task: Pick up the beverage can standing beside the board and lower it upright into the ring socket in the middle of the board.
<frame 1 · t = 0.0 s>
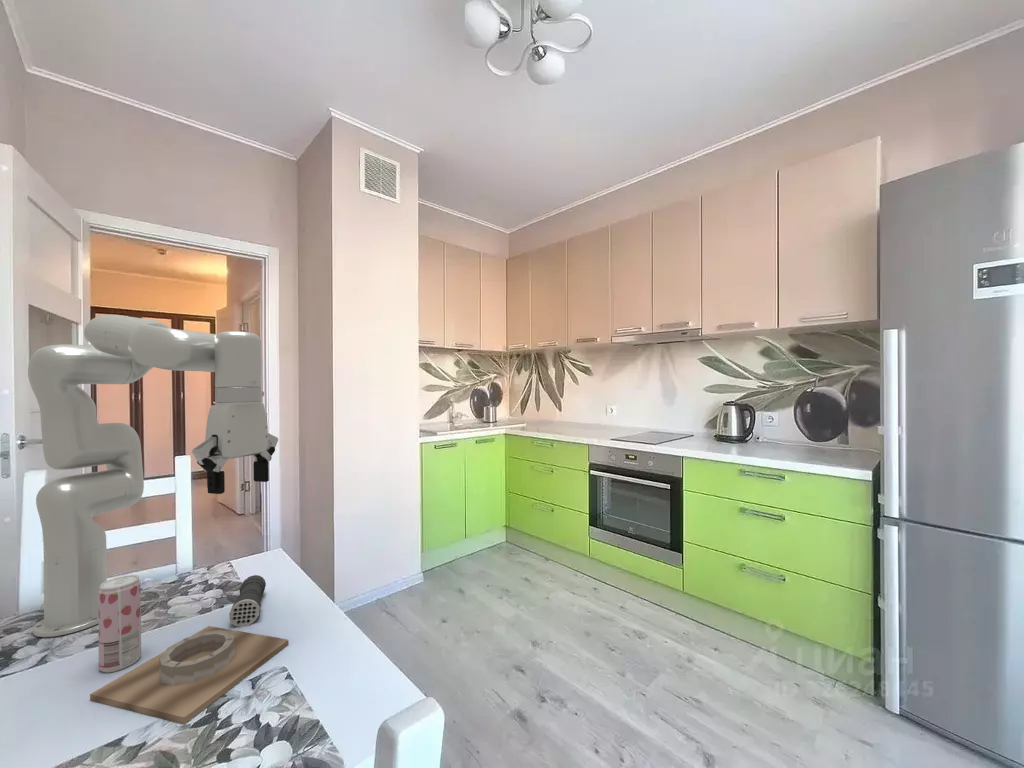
hand: (240, 487, 80), 31 cm above the table, fingers open, 9 cm apart
flashlight: (249, 611, 96), on the table
socket board: (198, 669, 75), on the table
beverage can: (120, 664, 77), on the table
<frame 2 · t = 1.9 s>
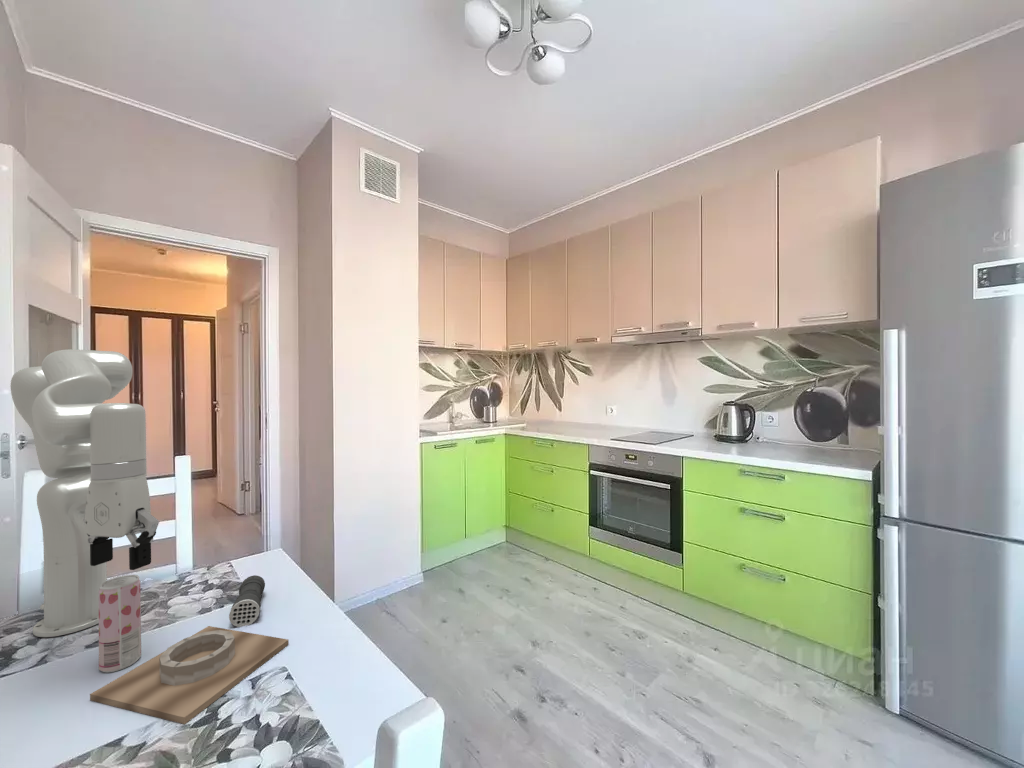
hand: (120, 564, 77), 18 cm above the table, fingers open, 9 cm apart
nothing on the table moved.
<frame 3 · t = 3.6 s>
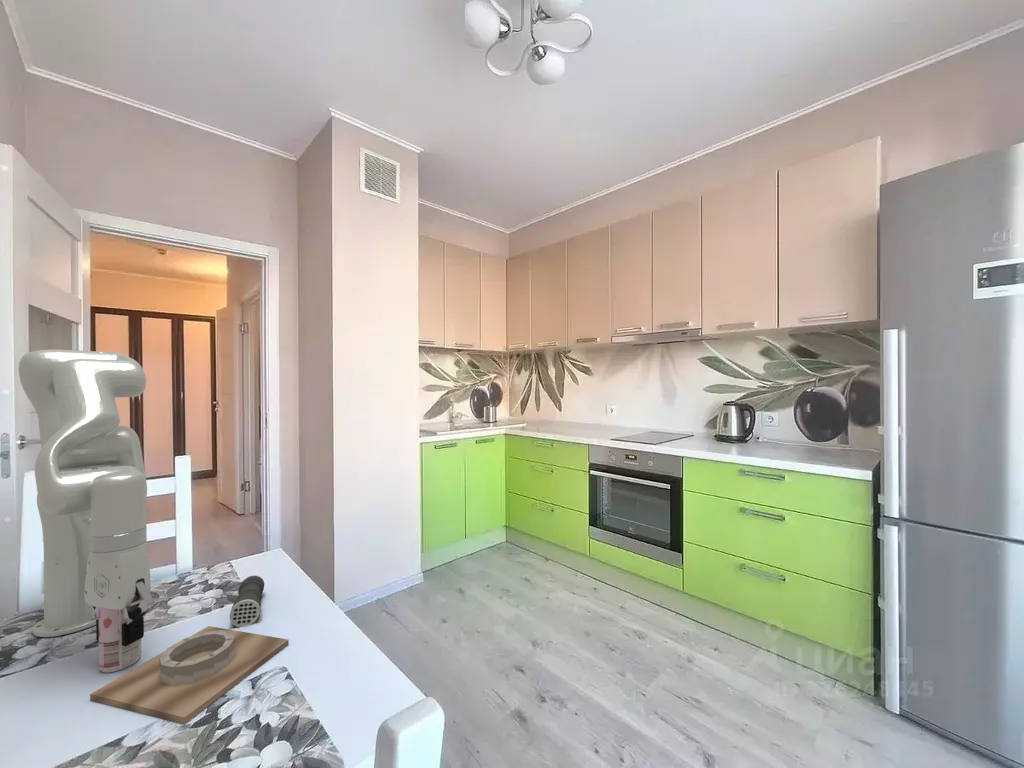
hand: (120, 638, 77), 5 cm above the table, fingers closed on beverage can, 5 cm apart
beverage can: (120, 664, 77), on the table, touching gripper
everything else where it was.
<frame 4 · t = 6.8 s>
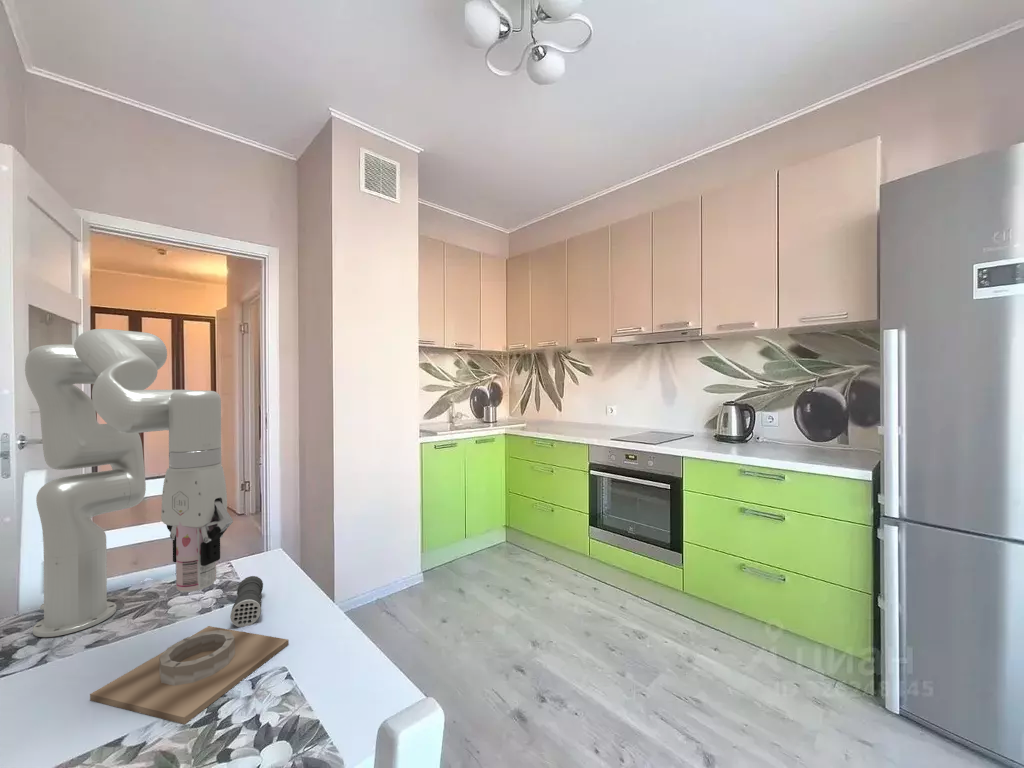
hand: (196, 560, 75), 19 cm above the table, fingers closed on beverage can, 5 cm apart
beverage can: (196, 586, 75), point 15 cm above the table, touching gripper
everything else where it was.
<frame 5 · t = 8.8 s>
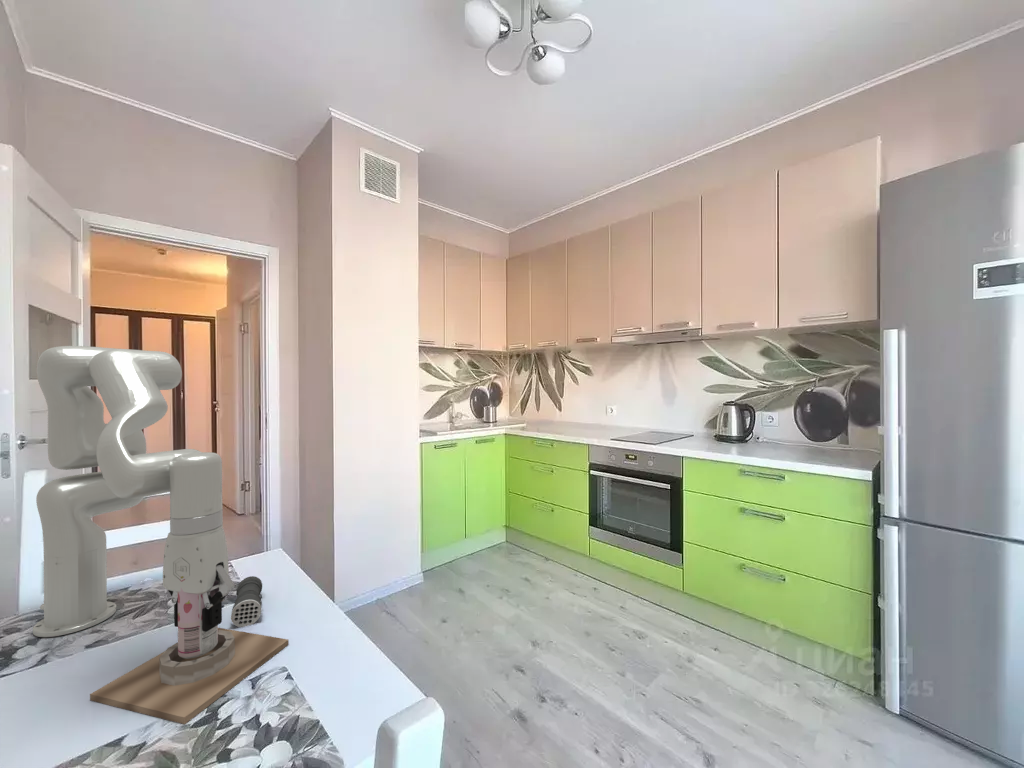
hand: (198, 624, 75), 8 cm above the table, fingers closed on beverage can, 5 cm apart
beverage can: (198, 650, 75), point 3 cm above the table, touching gripper
everything else where it was.
when the fingers open (7 cm above the table, at t = 10.2 s): beverage can stays where it is, resting on socket board.
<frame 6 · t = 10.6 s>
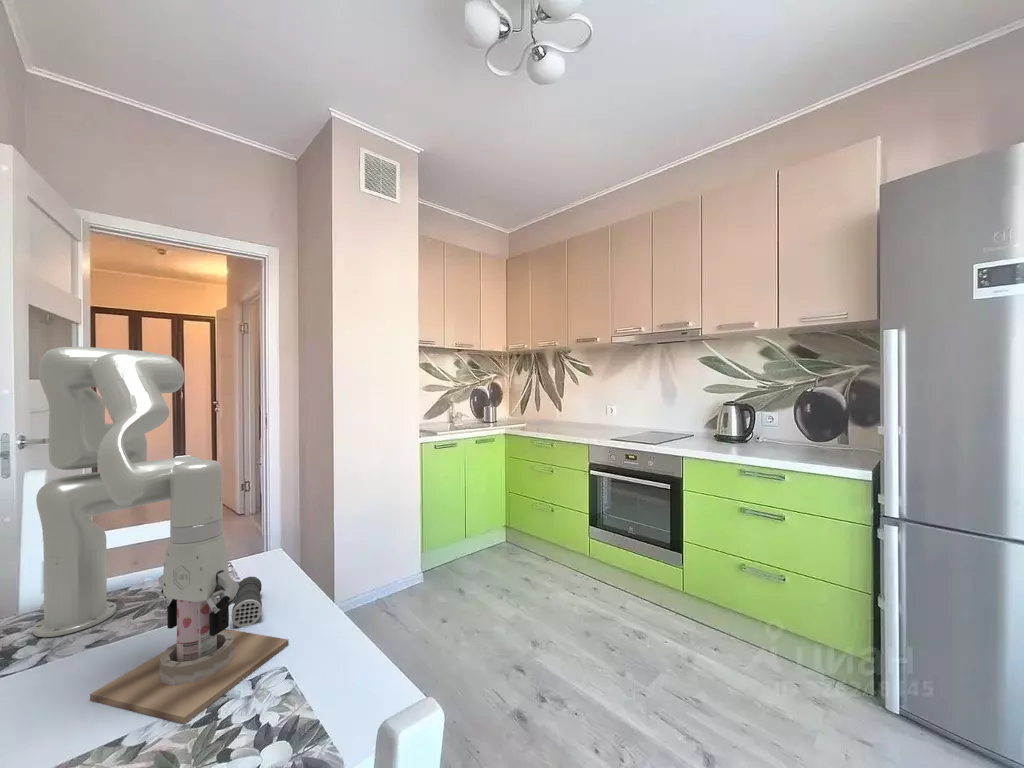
hand: (198, 627, 75), 7 cm above the table, fingers open, 9 cm apart
beverage can: (197, 665, 75), point 1 cm above the table, touching socket board
everything else where it was.
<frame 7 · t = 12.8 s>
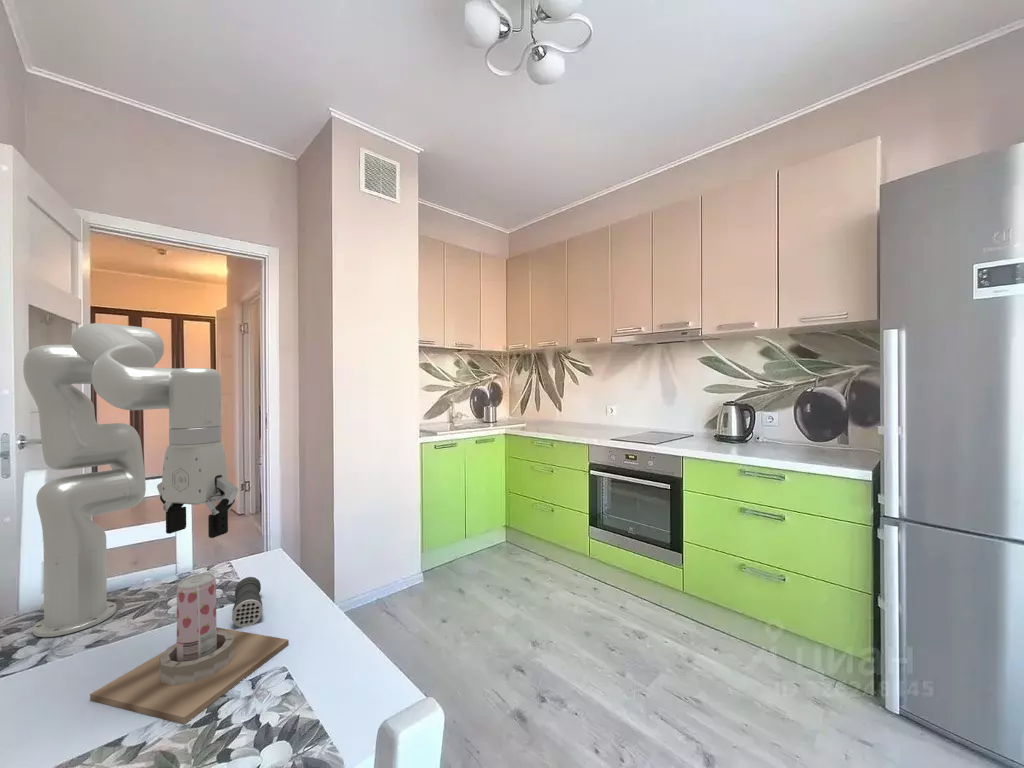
hand: (197, 533, 75), 24 cm above the table, fingers open, 9 cm apart
nothing on the table moved.
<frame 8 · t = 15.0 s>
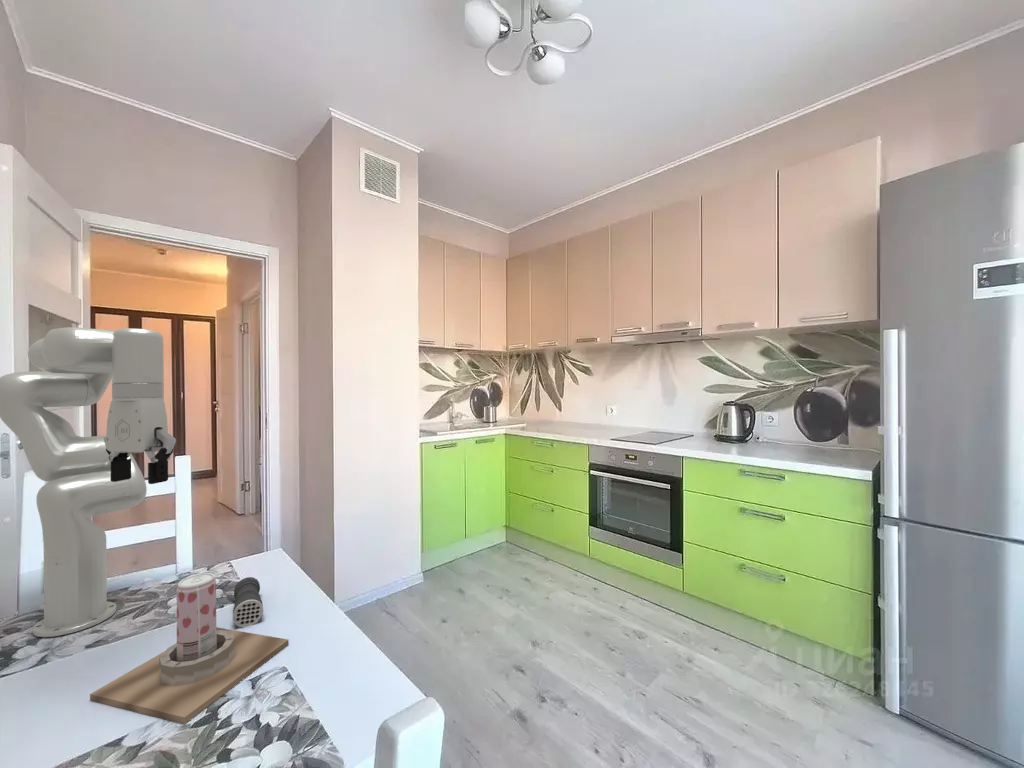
hand: (139, 481, 82), 32 cm above the table, fingers open, 9 cm apart
nothing on the table moved.
at the end: beverage can 0.3 cm off-centre on the socket board, point 0.8 cm above the socket board's base; beverage can tilted 0°; the gripper is holding nothing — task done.
